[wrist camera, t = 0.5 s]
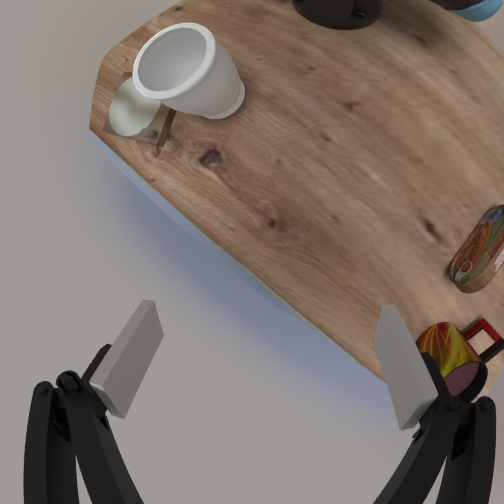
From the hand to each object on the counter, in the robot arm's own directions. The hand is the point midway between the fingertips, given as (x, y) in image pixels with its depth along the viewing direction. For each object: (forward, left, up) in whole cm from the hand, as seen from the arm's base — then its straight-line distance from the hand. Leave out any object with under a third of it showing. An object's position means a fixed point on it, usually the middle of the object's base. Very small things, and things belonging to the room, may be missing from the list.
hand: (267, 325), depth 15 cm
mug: (+4, +30, -25) cm, 39 cm away
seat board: (-12, -33, -25) cm, 43 cm away
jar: (-17, -20, -25) cm, 36 cm away
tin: (-12, +26, -25) cm, 38 cm away
